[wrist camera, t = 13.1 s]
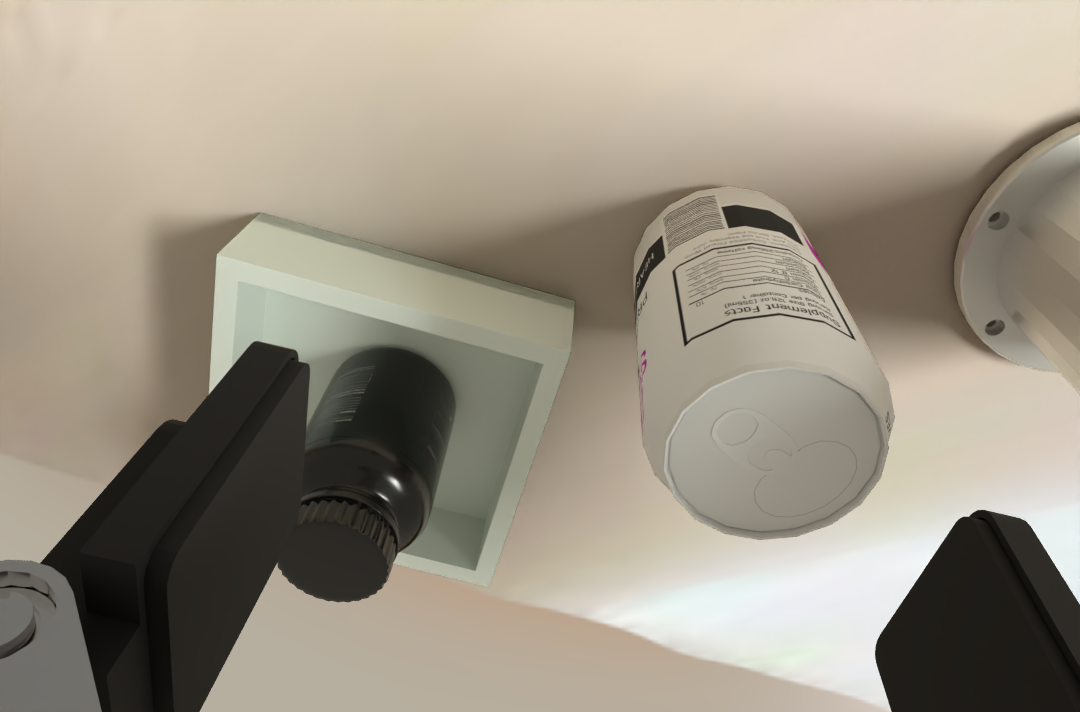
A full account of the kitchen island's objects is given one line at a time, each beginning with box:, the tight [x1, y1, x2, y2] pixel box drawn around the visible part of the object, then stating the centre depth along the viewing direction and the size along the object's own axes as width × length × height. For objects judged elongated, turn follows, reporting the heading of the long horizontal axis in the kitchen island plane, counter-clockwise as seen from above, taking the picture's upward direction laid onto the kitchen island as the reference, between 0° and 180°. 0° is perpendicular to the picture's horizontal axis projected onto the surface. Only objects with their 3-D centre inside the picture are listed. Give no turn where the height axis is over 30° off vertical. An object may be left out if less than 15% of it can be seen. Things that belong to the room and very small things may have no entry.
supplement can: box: [633, 186, 895, 540], centre depth 31 cm, size 8×8×15 cm
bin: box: [209, 213, 575, 587], centre depth 41 cm, size 16×16×5 cm
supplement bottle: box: [277, 347, 456, 602], centre depth 37 cm, size 7×7×12 cm
